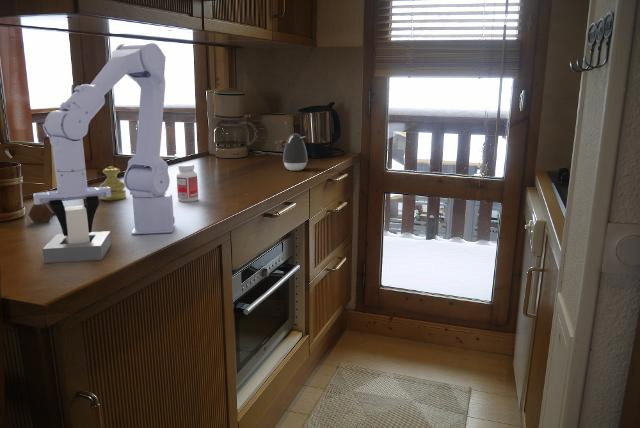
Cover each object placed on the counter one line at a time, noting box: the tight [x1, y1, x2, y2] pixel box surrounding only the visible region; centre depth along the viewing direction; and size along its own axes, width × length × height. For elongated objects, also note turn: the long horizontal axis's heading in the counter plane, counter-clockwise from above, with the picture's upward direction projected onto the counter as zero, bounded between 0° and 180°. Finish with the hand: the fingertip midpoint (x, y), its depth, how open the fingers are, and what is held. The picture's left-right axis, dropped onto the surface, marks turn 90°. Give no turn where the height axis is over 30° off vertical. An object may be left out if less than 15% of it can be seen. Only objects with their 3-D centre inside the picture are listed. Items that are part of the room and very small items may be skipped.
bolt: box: [28, 203, 55, 224], centre depth 143 cm, size 6×5×15 cm
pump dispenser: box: [282, 133, 308, 172], centre depth 220 cm, size 10×10×15 cm
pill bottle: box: [176, 163, 199, 203], centre depth 162 cm, size 6×6×11 cm
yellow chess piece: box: [99, 165, 127, 201], centre depth 165 cm, size 7×7×10 cm
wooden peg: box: [64, 204, 90, 244], centre depth 112 cm, size 4×4×8 cm
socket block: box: [42, 230, 112, 264], centre depth 113 cm, size 11×11×3 cm
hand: (77, 233), depth 112 cm, fingers closed on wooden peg, 4 cm apart
